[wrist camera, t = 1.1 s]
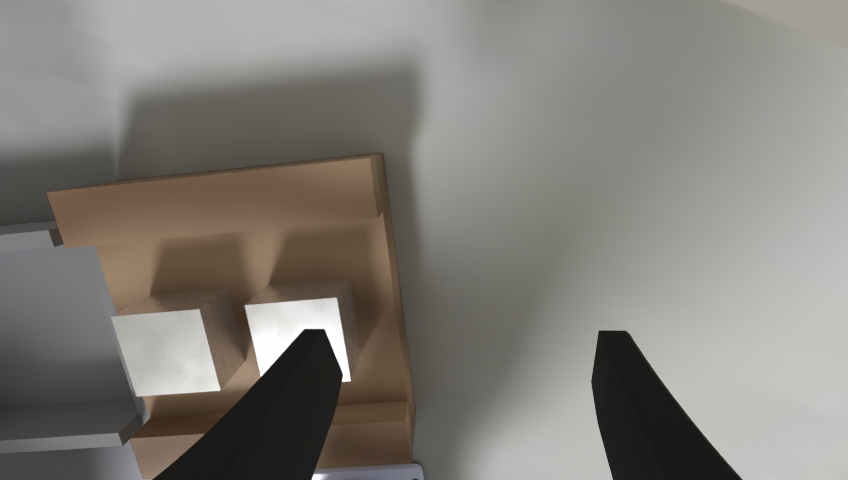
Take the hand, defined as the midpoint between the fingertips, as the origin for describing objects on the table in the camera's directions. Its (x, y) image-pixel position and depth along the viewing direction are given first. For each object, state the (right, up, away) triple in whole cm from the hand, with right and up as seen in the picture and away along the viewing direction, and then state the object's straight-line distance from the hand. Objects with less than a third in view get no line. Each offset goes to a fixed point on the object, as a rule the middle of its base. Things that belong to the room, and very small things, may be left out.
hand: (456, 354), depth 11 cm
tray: (-22, -2, +13) cm, 25 cm away
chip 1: (-12, -1, +10) cm, 16 cm away
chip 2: (-6, -1, +9) cm, 11 cm away
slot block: (-9, 0, +12) cm, 15 cm away
